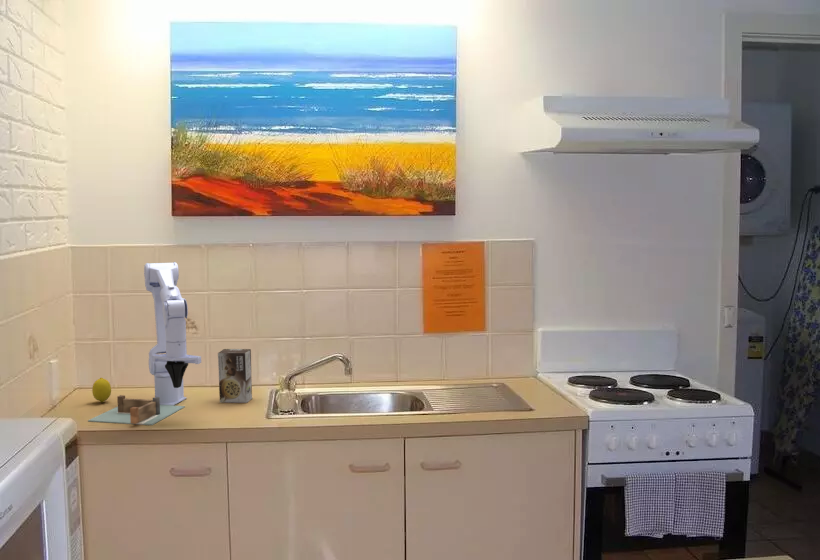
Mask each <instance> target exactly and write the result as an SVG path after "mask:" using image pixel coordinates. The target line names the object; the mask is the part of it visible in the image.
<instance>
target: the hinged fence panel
mask: <svg viewBox="0 0 820 560" xmlns="http://www.w3.org/2000/svg"><path fill="white" fill-rule="evenodd" d="M154 414H156V402H150V403H148V404H145V405H143V406H141V407H139V408H138V407H132V408H130V420H131V424H130V425H137V424H136V423H139V422H140V421H142V420H144V419H146V418H148V417H150V416H152V415H154Z"/></svg>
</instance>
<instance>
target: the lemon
mask: <svg viewBox="0 0 820 560" xmlns="http://www.w3.org/2000/svg"><path fill="white" fill-rule="evenodd" d="M91 392H92V396H93V398H94V399H95V400H97V401H99V402H100V403H105V401H106V400H108V399H109V398H110V397H111V394H112V385H111V382H109V381H108V380H107V379H106V378H103V377H100V378H98V379H96V380H95V381H94V382H93V385H92V390H91Z"/></svg>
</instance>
